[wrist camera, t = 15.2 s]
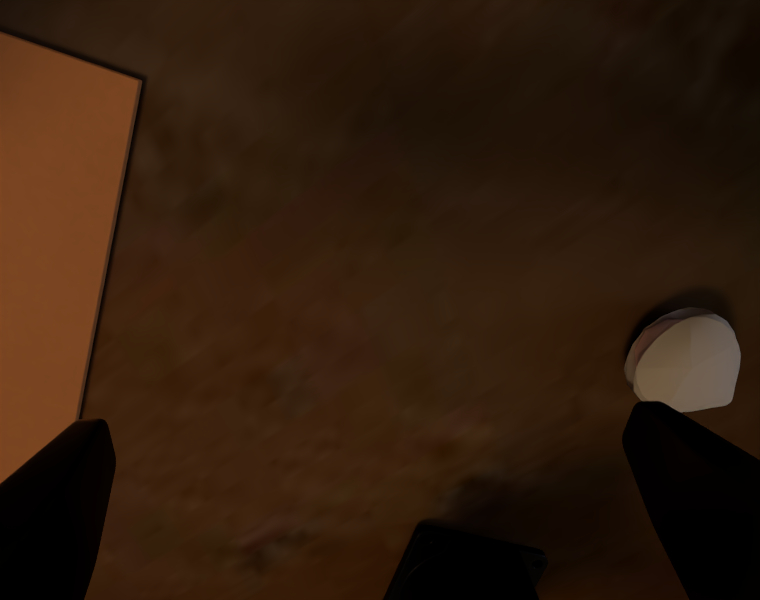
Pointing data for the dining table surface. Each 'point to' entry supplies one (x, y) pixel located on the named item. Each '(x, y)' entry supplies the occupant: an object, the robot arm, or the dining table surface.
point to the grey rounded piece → (685, 361)
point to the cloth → (54, 231)
